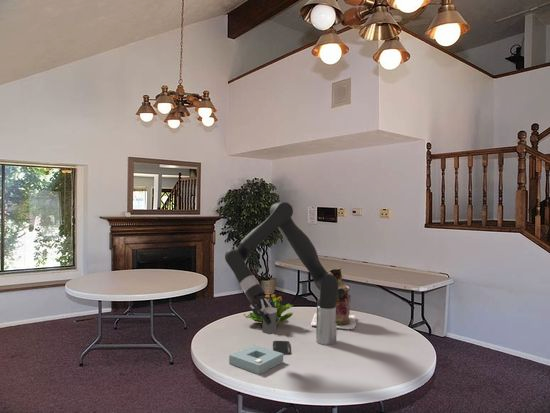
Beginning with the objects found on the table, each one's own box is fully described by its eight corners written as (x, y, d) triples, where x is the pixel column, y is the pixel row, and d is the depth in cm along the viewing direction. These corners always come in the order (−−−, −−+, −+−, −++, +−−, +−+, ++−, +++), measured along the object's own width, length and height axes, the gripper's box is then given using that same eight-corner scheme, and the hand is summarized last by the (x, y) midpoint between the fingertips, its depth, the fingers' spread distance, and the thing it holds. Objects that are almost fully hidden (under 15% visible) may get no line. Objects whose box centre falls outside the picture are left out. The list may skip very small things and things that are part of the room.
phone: (289, 341, 184) (290, 352, 169) (289, 343, 184) (290, 355, 169) (272, 340, 184) (272, 352, 169) (272, 343, 184) (272, 354, 169)
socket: (254, 352, 170) (254, 343, 170) (283, 361, 160) (283, 352, 160) (229, 363, 157) (229, 353, 157) (258, 374, 148) (259, 363, 148)
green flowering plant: (267, 315, 229) (268, 286, 229) (301, 323, 215) (302, 292, 216) (240, 325, 209) (241, 293, 209) (275, 334, 195) (276, 300, 195)
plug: (268, 330, 161) (269, 306, 161) (275, 332, 159) (276, 308, 159) (262, 332, 158) (263, 308, 158) (269, 334, 156) (270, 310, 156)
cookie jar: (314, 315, 233) (315, 263, 234) (355, 318, 229) (356, 265, 229) (310, 327, 209) (311, 269, 209) (355, 331, 204) (357, 271, 205)
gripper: (246, 285, 157) (268, 321, 150) (267, 281, 169) (288, 314, 161) (236, 296, 161) (257, 331, 153) (257, 291, 172) (278, 324, 164)
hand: (273, 322), depth 157 cm, fingers closed on plug, 4 cm apart
